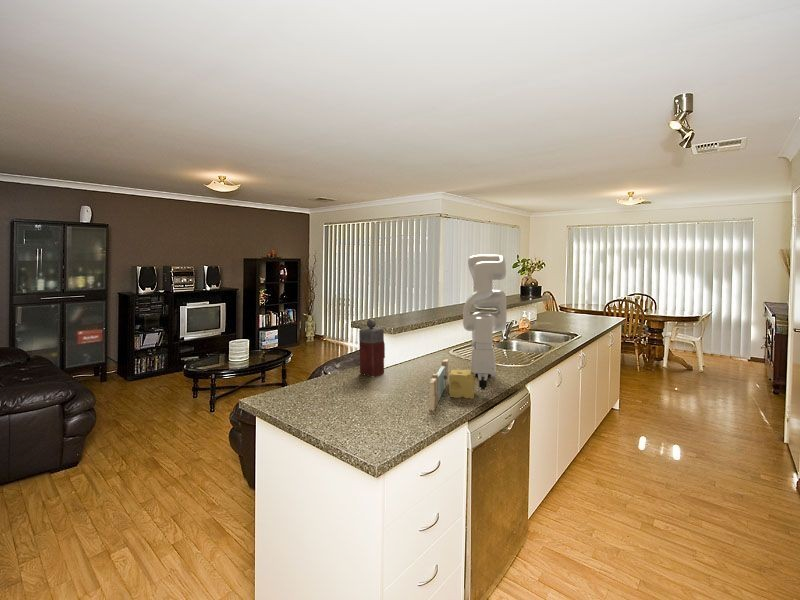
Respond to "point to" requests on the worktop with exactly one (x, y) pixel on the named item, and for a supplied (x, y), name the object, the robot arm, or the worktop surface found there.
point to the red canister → (371, 349)
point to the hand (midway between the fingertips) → (482, 388)
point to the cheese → (461, 384)
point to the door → (441, 381)
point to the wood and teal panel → (435, 386)
